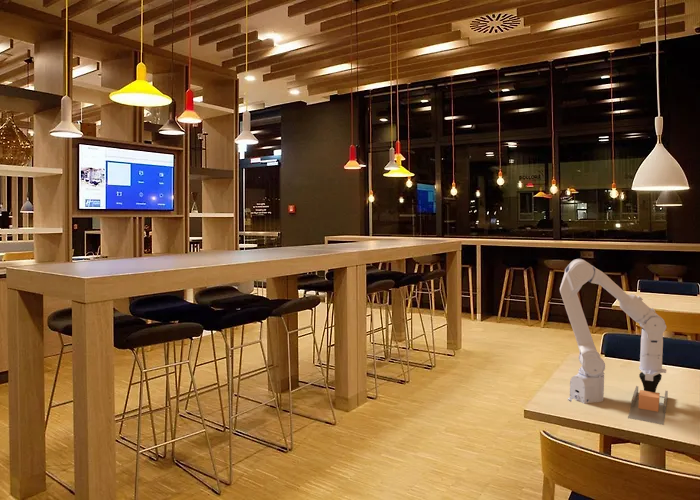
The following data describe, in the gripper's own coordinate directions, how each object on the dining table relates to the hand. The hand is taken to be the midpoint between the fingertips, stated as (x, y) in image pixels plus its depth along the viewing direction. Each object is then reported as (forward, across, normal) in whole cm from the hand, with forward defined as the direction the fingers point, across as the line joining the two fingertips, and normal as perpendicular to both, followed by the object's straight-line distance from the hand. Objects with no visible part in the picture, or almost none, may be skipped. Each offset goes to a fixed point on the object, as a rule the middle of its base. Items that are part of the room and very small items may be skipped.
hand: (649, 398), depth 156 cm
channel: (+3, -3, 0) cm, 4 cm away
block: (+2, -4, 0) cm, 4 cm away
